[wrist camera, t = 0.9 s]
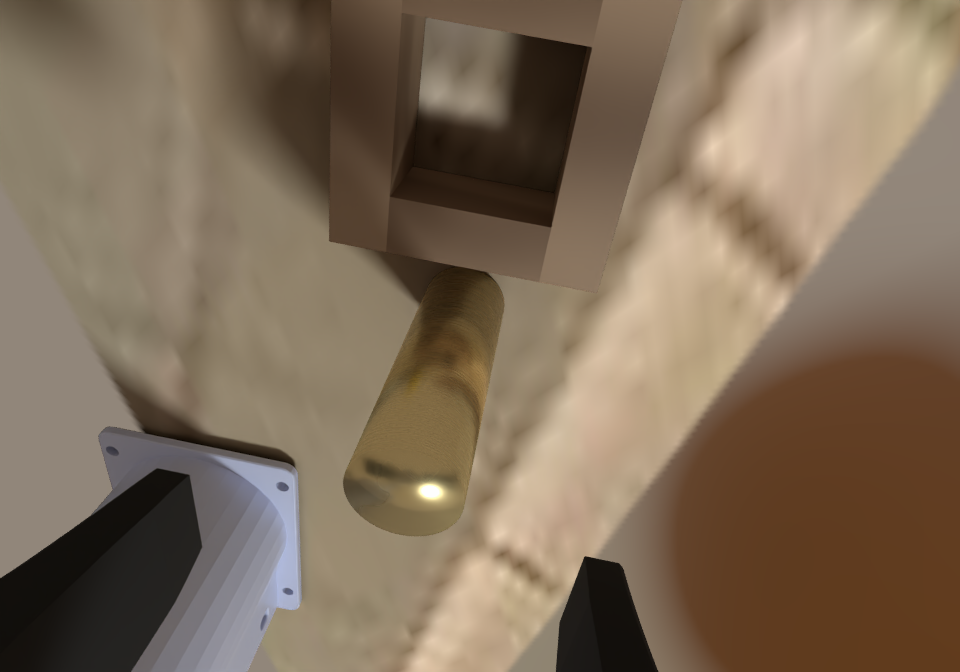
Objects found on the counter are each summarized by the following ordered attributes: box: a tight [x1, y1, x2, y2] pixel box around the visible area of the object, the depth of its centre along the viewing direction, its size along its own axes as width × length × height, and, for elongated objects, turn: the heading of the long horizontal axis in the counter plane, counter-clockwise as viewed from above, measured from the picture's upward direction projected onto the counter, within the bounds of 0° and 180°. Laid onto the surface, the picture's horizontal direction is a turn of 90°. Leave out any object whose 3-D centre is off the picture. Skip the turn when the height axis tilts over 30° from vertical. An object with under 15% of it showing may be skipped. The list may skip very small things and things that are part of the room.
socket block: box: [329, 0, 682, 293], centre depth 14 cm, size 7×7×2 cm
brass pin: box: [343, 267, 504, 536], centre depth 15 cm, size 2×2×8 cm
